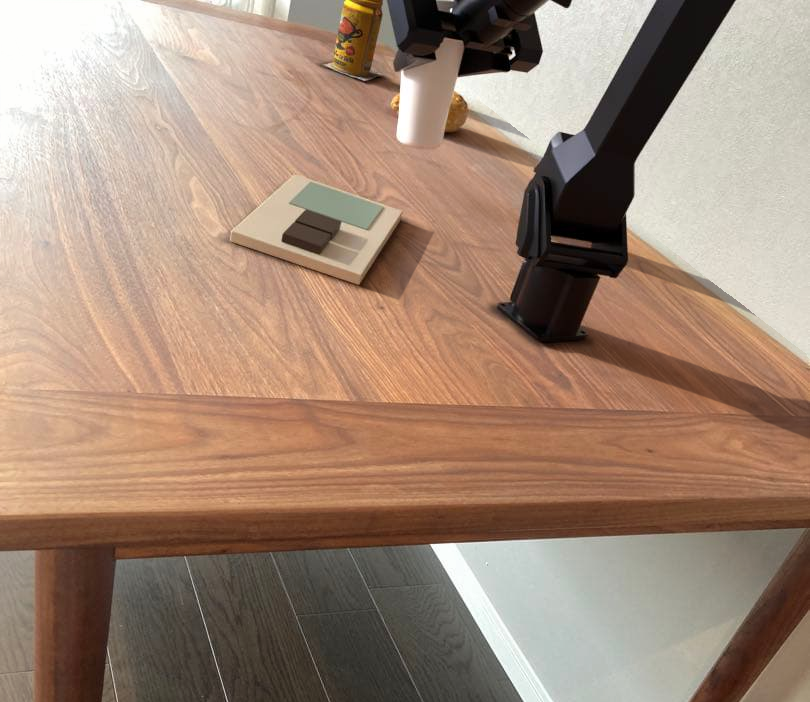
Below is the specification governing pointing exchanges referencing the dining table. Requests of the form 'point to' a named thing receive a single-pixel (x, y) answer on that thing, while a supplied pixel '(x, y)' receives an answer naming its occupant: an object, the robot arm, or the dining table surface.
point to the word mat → (319, 228)
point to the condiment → (357, 38)
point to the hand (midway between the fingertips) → (419, 71)
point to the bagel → (455, 114)
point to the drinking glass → (429, 94)
